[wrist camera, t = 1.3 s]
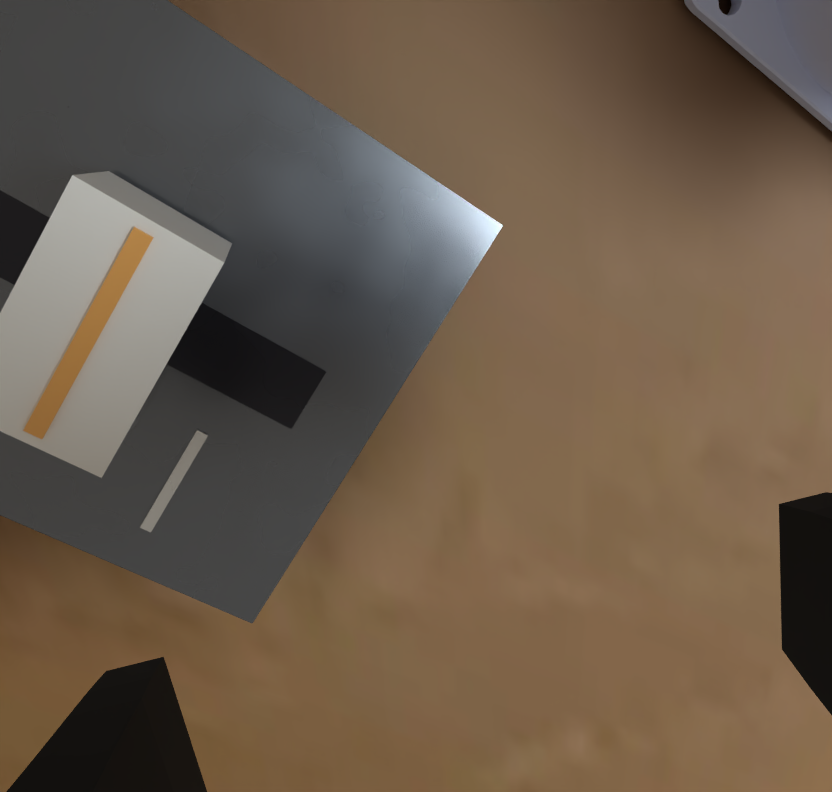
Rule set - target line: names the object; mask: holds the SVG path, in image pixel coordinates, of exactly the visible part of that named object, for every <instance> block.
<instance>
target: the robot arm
mask: <svg viewBox="0 0 832 792" xmlns="http://www.w3.org/2000/svg"><path fill="white" fill-rule="evenodd" d="M684 2H685V5H686V6H687V7H688V9H689V10H690V11H691V12H692V13H693V14H694V15H695V16H697V17H698V18H699V19H700V20H701V21H702V22H704V23H705V24H706V25H707V26H708V27H709V28H711V29H712V30H713V31H714V32H715V33H717V34H718V35H719V36H720V37H721V38H722V39H724V40H725V41H726V42H727V43H728V44H729V45H731V46H732V47H733V48H734V49H735V50H737V51H738V52H739V53H740V54H741V55H742V56H744V57H745V58H746V59H747V60H748V61H749V62H751V63H752V64H753V65H754V66H755V67H757V68H758V69H759V70H760V71H761V72H762V73H764V74H765V75H766V76H767V77H768V78H769V79H771V80H772V81H773V82H774V83H775V84H777V85H778V86H779V87H780V88H781V89H782V90H784V91H785V92H786V93H787V94H788V95H789V96H791V97H792V98H793V99H794V100H795V101H797V102H798V103H799V104H800V105H801V106H802V107H804V108H805V109H806V110H807V111H808V112H809V113H811V114H812V115H813V116H814V117H815V118H817V119H818V120H819V121H820V122H821V123H822V124H824V125H825V126H826V127H827V128H828V129H829V130H831V131H832V0H731V8H730V11H729V13H728V14H727V15H726V14H723V13H722V12H721V10H720V8H719V2H718V0H684ZM779 526H780V574H781V622H782V650H783V651H784V653H785V654H786V655H787V657H788V658H789V659H790V661H791V662H792V663H793V665H794V666H795V668H796V669H797V670H798V672H799V673H800V674H801V676H802V677H803V678H804V680H805V681H806V683H807V684H808V685H809V687H810V688H811V689H812V691H813V692H814V693H815V694H816V696H817V697H818V698H819V700H820V701H821V702H822V703H823V705H824V706H825V707H826V708H827V710H828V711H829V712H830V713H831V715H832V493H827V492H826V493H822V494H818V495H814V496H810V497H806V498H802V499H798V500H794V501H790V502H786V503H782V504H779ZM7 792H207V790H206V787H205V784H204V781H203V778H202V775H201V772H200V768H199V765H198V762H197V759H196V756H195V753H194V750H193V747H192V744H191V741H190V737H189V734H188V731H187V728H186V725H185V722H184V719H183V716H182V713H181V710H180V706H179V703H178V700H177V697H176V694H175V691H174V688H173V685H172V682H171V679H170V675H169V672H168V669H167V666H166V663H165V660H164V657H161V658H157V659H153V660H149V661H145V662H141V663H137V664H133V665H129V666H125V667H121V668H117V669H113V670H109V671H106V672H105V673H104V674H103V675H102V676H101V677H100V679H99V680H98V681H97V682H96V683H95V684H94V685H93V687H92V688H91V689H90V690H89V691H88V692H87V694H86V695H85V696H84V697H83V699H82V700H81V701H80V702H79V703H78V705H77V706H76V707H75V708H74V710H73V711H72V712H71V713H70V714H69V716H68V717H67V718H66V719H65V721H64V722H63V723H62V724H61V726H60V727H59V728H58V729H57V731H56V732H55V733H54V734H53V736H52V737H51V738H50V739H49V741H48V742H47V743H46V744H45V746H44V747H43V748H42V749H41V751H40V752H39V753H38V754H37V755H36V757H35V758H34V759H33V760H32V762H31V763H30V764H29V765H28V766H27V768H26V769H25V770H24V771H23V772H22V774H21V775H20V776H19V777H18V779H17V780H16V781H15V782H14V783H13V785H12V786H11V787H10V788H9V789H8V791H7Z"/></svg>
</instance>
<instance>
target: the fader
mask: <svg viewBox="0 0 832 792" xmlns="http://www.w3.org/2000/svg"><path fill="white" fill-rule="evenodd" d="M231 245H232V243H231V242H229V241H227V240H225V239H224V238H222V237H220V236H219V235H217V234H215V233H213V232H212V231H210V230H208V229H207V228H205V227H203V226H202V225H200V224H198V223H196V222H195V221H193V220H191V219H190V218H188V217H186V216H185V215H183V214H181V213H179V212H178V211H176V210H174V209H173V208H171V207H169V206H167V205H166V204H164V203H162V202H161V201H159V200H157V199H156V198H154V197H152V196H150V195H149V194H147V193H145V192H144V191H142V190H140V189H139V188H137V187H135V186H133V185H132V184H130V183H128V182H127V181H125V180H123V179H121V178H120V177H118V176H116V175H115V174H113V173H111V172H110V171H105V172H95V173H86V174H77V175H72V177H71V179H70V181H69V182H68V184H67V186H66V188H65V190H64V192H63V194H62V196H61V198H60V200H59V202H58V203H57V205H56V207H55V209H54V211H53V213H52V215H51V217H50V219H49V221H48V223H47V224H46V226H45V228H44V230H43V232H42V234H41V236H40V238H39V240H38V242H37V244H36V245H35V247H34V249H33V251H32V253H31V255H30V257H29V259H28V261H27V263H26V265H25V266H24V268H23V270H22V272H21V274H20V276H19V278H18V280H17V282H16V284H15V286H14V287H13V289H12V291H11V293H10V295H9V297H8V299H7V301H6V303H5V305H4V307H3V308H2V310H1V312H0V431H1V432H3V433H5V434H7V435H10V436H12V437H14V438H16V439H18V440H20V441H23V442H25V443H27V444H29V445H31V446H33V447H36V448H38V449H40V450H42V451H44V452H46V453H49V454H51V455H53V456H55V457H57V458H59V459H62V460H64V461H66V462H68V463H70V464H72V465H75V466H77V467H79V468H81V469H83V470H85V471H88V472H90V473H92V474H94V475H96V476H98V477H101V478H102V476H103V475H104V473H105V471H106V469H107V468H108V466H109V464H110V462H111V461H112V459H113V457H114V455H115V454H116V452H117V450H118V448H119V447H120V445H121V443H122V441H123V440H124V438H125V436H126V434H127V433H128V431H129V429H130V427H131V426H132V424H133V422H134V420H135V418H136V417H137V415H138V413H139V411H140V410H141V408H142V406H143V404H144V403H145V401H146V399H147V397H148V396H149V394H150V392H151V390H152V389H153V387H154V385H155V383H156V382H157V380H158V378H159V376H160V375H161V373H162V371H163V369H164V368H165V366H166V364H167V362H168V361H169V359H170V357H171V355H172V354H173V352H174V350H175V348H176V347H177V345H178V343H179V341H180V340H181V338H182V336H183V334H184V333H185V331H186V329H187V327H188V326H189V324H190V322H191V320H192V319H193V317H194V315H195V313H196V312H197V310H198V308H199V306H200V305H201V303H202V301H203V299H204V297H205V296H206V294H207V292H208V290H209V289H210V287H211V285H212V283H213V282H214V280H215V278H216V276H217V275H218V273H219V271H220V269H221V268H222V266H223V264H224V262H225V260H226V257H227V255H228V253H229V250H230V248H231Z"/></svg>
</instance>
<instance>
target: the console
mask: <svg viewBox="0 0 832 792" xmlns="http://www.w3.org/2000/svg"><path fill="white" fill-rule="evenodd" d="M105 171H110V172H111V173H113V174H115V175H116V176H118V177H120V178H121V179H123V180H125V181H127V182H128V183H130V184H132V185H133V186H135V187H137V188H139V189H140V190H142V191H144V192H145V193H147V194H149V195H150V196H152V197H154V198H156V199H157V200H159V201H161V202H162V203H164V204H166V205H167V206H169V207H171V208H173V209H174V210H176V211H178V212H179V213H181V214H183V215H185V216H186V217H188V218H190V219H191V220H193V221H195V222H196V223H198V224H200V225H202V226H203V227H205V228H207V229H208V230H210V231H212V232H213V233H215V234H217V235H219V236H220V237H222V238H224V239H225V240H227V241H229V242H231V243H232V245H231V248H230V250H229V253H228V255H227V257H226V260H225V262H224V264H223V266H222V268H221V269H220V271H219V273H218V275H217V276H216V278H215V280H214V282H213V283H212V285H211V287H210V289H209V290H208V292H207V294H206V296H205V297H204V299H203V301H202V303H201V305H200V306H199V308H198V310H197V312H196V313H195V315H194V317H193V319H192V320H191V322H190V324H189V326H188V327H187V329H186V331H185V333H184V334H183V336H182V338H181V340H180V341H179V343H178V345H177V347H176V348H175V350H174V352H173V354H172V355H171V357H170V359H169V361H168V362H167V364H166V366H165V368H164V369H163V371H162V373H161V375H160V376H159V378H158V380H157V382H156V383H155V385H154V387H153V389H152V390H151V392H150V394H149V396H148V397H147V399H146V401H145V403H144V404H143V406H142V408H141V410H140V411H139V413H138V415H137V417H136V418H135V420H134V422H133V424H132V426H131V427H130V429H129V431H128V433H127V434H126V436H125V438H124V440H123V441H122V443H121V445H120V447H119V448H118V450H117V452H116V454H115V455H114V457H113V459H112V461H111V462H110V464H109V466H108V468H107V469H106V471H105V473H104V475H103V476H102V478H101V477H98V476H96V475H94V474H92V473H90V472H88V471H85V470H83V469H81V468H79V467H77V466H75V465H72V464H70V463H68V462H66V461H64V460H62V459H59V458H57V457H55V456H53V455H51V454H49V453H46V452H44V451H42V450H40V449H38V448H36V447H33V446H31V445H29V444H27V443H25V442H23V441H20V440H18V439H16V438H14V437H12V436H10V435H7V434H5V433H3V432H1V431H0V515H1V516H3V517H6V518H8V519H10V520H13V521H15V522H17V523H20V524H22V525H24V526H27V527H29V528H31V529H34V530H36V531H38V532H41V533H43V534H45V535H48V536H50V537H52V538H55V539H57V540H59V541H62V542H64V543H66V544H69V545H71V546H73V547H75V548H78V549H80V550H82V551H85V552H87V553H89V554H92V555H94V556H96V557H99V558H101V559H103V560H106V561H108V562H110V563H113V564H115V565H117V566H120V567H122V568H124V569H127V570H129V571H131V572H134V573H136V574H138V575H141V576H143V577H145V578H148V579H150V580H152V581H155V582H157V583H159V584H162V585H164V586H166V587H169V588H171V589H173V590H176V591H178V592H180V593H183V594H185V595H187V596H190V597H192V598H194V599H197V600H199V601H201V602H204V603H206V604H208V605H211V606H213V607H215V608H218V609H220V610H222V611H224V612H227V613H229V614H231V615H234V616H236V617H238V618H241V619H243V620H245V621H248V622H250V623H253V622H254V620H255V618H256V617H257V615H258V614H259V612H260V611H261V609H262V607H263V606H264V604H265V603H266V601H267V599H268V598H269V596H270V595H271V593H272V591H273V590H274V588H275V587H276V585H277V584H278V582H279V580H280V579H281V577H282V576H283V574H284V572H285V571H286V569H287V568H288V566H289V564H290V563H291V561H292V560H293V558H294V557H295V555H296V553H297V552H298V550H299V549H300V547H301V545H302V544H303V542H304V541H305V539H306V538H307V536H308V534H309V533H310V531H311V530H312V528H313V526H314V525H315V523H316V522H317V520H318V518H319V517H320V515H321V514H322V512H323V511H324V509H325V507H326V506H327V504H328V503H329V501H330V499H331V498H332V496H333V495H334V493H335V491H336V490H337V488H338V487H339V485H340V484H341V482H342V480H343V479H344V477H345V476H346V474H347V472H348V471H349V469H350V468H351V466H352V464H353V463H354V461H355V460H356V458H357V457H358V455H359V453H360V452H361V450H362V449H363V447H364V445H365V444H366V442H367V441H368V439H369V437H370V436H371V434H372V433H373V431H374V430H375V428H376V426H377V425H378V423H379V422H380V420H381V418H382V417H383V415H384V414H385V412H386V411H387V409H388V407H389V406H390V404H391V403H392V401H393V399H394V398H395V396H396V395H397V393H398V391H399V390H400V388H401V387H402V385H403V384H404V382H405V380H406V379H407V377H408V376H409V374H410V372H411V371H412V369H413V368H414V366H415V364H416V363H417V361H418V360H419V358H420V357H421V355H422V353H423V352H424V350H425V349H426V347H427V345H428V344H429V342H430V341H431V339H432V337H433V336H434V334H435V333H436V331H437V330H438V328H439V326H440V325H441V323H442V322H443V320H444V318H445V317H446V315H447V314H448V312H449V310H450V309H451V307H452V306H453V304H454V303H455V301H456V299H457V298H458V296H459V295H460V293H461V291H462V290H463V288H464V287H465V285H466V284H467V282H468V280H469V279H470V277H471V276H472V274H473V272H474V271H475V269H476V268H477V266H478V264H479V263H480V261H481V260H482V258H483V257H484V255H485V253H486V252H487V250H488V249H489V247H490V245H491V244H492V242H493V241H494V239H495V237H496V236H497V234H498V233H499V231H500V230H501V228H502V226H503V225H501V224H500V223H498V222H497V221H495V220H494V219H492V218H491V217H489V216H488V215H486V214H485V213H483V212H482V211H480V210H479V209H477V208H476V207H474V206H473V205H471V204H470V203H468V202H467V201H466V200H464V199H463V198H461V197H460V196H458V195H457V194H455V193H454V192H452V191H451V190H449V189H448V188H446V187H445V186H443V185H442V184H440V183H439V182H437V181H436V180H434V179H433V178H431V177H430V176H428V175H427V174H425V173H424V172H422V171H421V170H419V169H418V168H416V167H415V166H413V165H412V164H410V163H409V162H407V161H406V160H404V159H403V158H401V157H400V156H398V155H397V154H395V153H394V152H393V151H391V150H390V149H388V148H387V147H385V146H384V145H382V144H381V143H379V142H378V141H376V140H375V139H373V138H372V137H370V136H369V135H367V134H366V133H364V132H363V131H361V130H360V129H358V128H357V127H355V126H354V125H352V124H351V123H349V122H348V121H346V120H345V119H343V118H342V117H340V116H339V115H337V114H336V113H334V112H333V111H331V110H330V109H328V108H327V107H325V106H324V105H323V104H321V103H320V102H318V101H317V100H315V99H314V98H312V97H311V96H309V95H308V94H306V93H305V92H303V91H302V90H300V89H299V88H297V87H296V86H294V85H293V84H291V83H290V82H288V81H287V80H285V79H284V78H282V77H281V76H279V75H278V74H276V73H275V72H273V71H272V70H270V69H269V68H267V67H266V66H264V65H263V64H261V63H260V62H258V61H257V60H255V59H254V58H252V57H251V56H250V55H248V54H247V53H245V52H244V51H242V50H241V49H239V48H238V47H236V46H235V45H233V44H232V43H230V42H229V41H227V40H226V39H224V38H223V37H221V36H220V35H218V34H217V33H215V32H214V31H212V30H211V29H209V28H208V27H206V26H205V25H203V24H202V23H200V22H199V21H197V20H196V19H194V18H193V17H191V16H190V15H188V14H187V13H185V12H184V11H182V10H181V9H179V8H178V7H177V6H175V5H174V4H172V3H171V2H169V1H168V0H0V312H1V310H2V308H3V307H4V305H5V303H6V301H7V299H8V297H9V295H10V293H11V291H12V289H13V287H14V286H15V284H16V282H17V280H18V278H19V276H20V274H21V272H22V270H23V268H24V266H25V265H26V263H27V261H28V259H29V257H30V255H31V253H32V251H33V249H34V247H35V245H36V244H37V242H38V240H39V238H40V236H41V234H42V232H43V230H44V228H45V226H46V224H47V223H48V221H49V219H50V217H51V215H52V213H53V211H54V209H55V207H56V205H57V203H58V202H59V200H60V198H61V196H62V194H63V192H64V190H65V188H66V186H67V184H68V182H69V181H70V179H71V177H72V175H77V174H86V173H95V172H105Z"/></svg>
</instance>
